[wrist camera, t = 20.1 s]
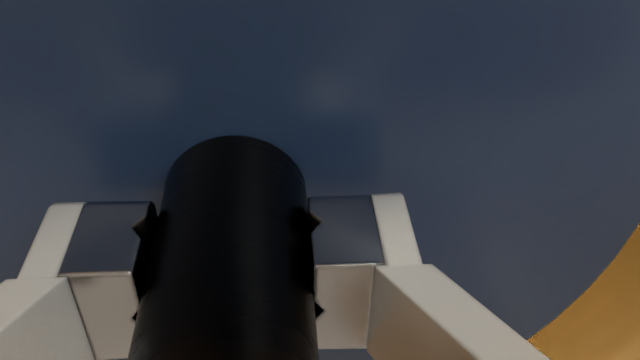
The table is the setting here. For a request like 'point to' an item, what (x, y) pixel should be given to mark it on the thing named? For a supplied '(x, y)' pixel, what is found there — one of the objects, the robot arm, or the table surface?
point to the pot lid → (325, 147)
